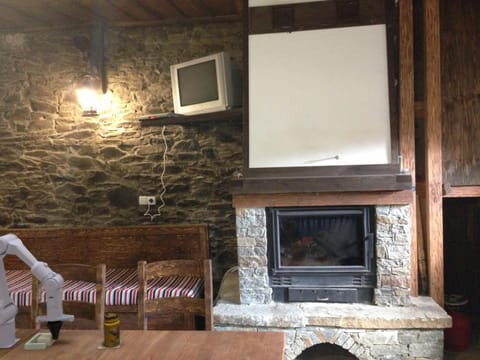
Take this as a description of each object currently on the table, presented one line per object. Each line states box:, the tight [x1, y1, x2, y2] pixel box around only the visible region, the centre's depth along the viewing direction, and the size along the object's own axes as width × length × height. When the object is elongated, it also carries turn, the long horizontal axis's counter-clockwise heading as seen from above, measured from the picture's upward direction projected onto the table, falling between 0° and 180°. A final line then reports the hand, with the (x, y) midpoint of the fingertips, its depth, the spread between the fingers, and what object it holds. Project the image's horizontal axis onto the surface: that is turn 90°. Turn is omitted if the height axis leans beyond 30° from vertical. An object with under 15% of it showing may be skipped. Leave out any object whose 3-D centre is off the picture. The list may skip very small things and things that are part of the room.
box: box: [23, 332, 51, 351], centre depth 165 cm, size 8×11×2 cm
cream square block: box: [36, 334, 57, 347], centre depth 165 cm, size 5×5×3 cm
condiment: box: [97, 312, 123, 350], centre depth 163 cm, size 7×8×12 cm
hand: (55, 339), depth 166 cm, fingers closed
